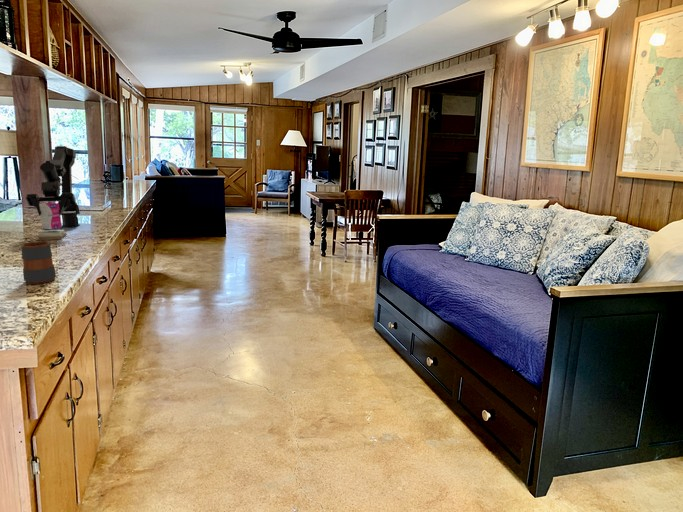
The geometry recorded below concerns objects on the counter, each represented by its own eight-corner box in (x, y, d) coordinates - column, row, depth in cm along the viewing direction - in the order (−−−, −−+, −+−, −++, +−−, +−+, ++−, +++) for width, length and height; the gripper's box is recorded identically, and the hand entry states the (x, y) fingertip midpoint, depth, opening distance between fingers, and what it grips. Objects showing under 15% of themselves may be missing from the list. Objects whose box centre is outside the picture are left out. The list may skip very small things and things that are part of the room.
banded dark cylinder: (58, 273, 170) (53, 238, 168) (55, 282, 160) (50, 245, 157) (27, 276, 167) (22, 240, 164) (22, 286, 156) (17, 247, 154)
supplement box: (49, 230, 227) (45, 204, 225) (42, 229, 230) (38, 203, 228) (62, 228, 232) (59, 202, 229) (55, 227, 235) (51, 202, 232)
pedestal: (44, 236, 235) (43, 230, 234) (66, 235, 237) (66, 229, 237) (39, 240, 226) (38, 233, 226) (62, 239, 229) (61, 232, 228)
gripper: (24, 175, 227) (19, 203, 219) (71, 174, 232) (68, 202, 224) (31, 191, 236) (27, 219, 228) (77, 190, 241) (74, 217, 233)
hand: (49, 214), depth 228 cm, fingers closed on supplement box, 8 cm apart
